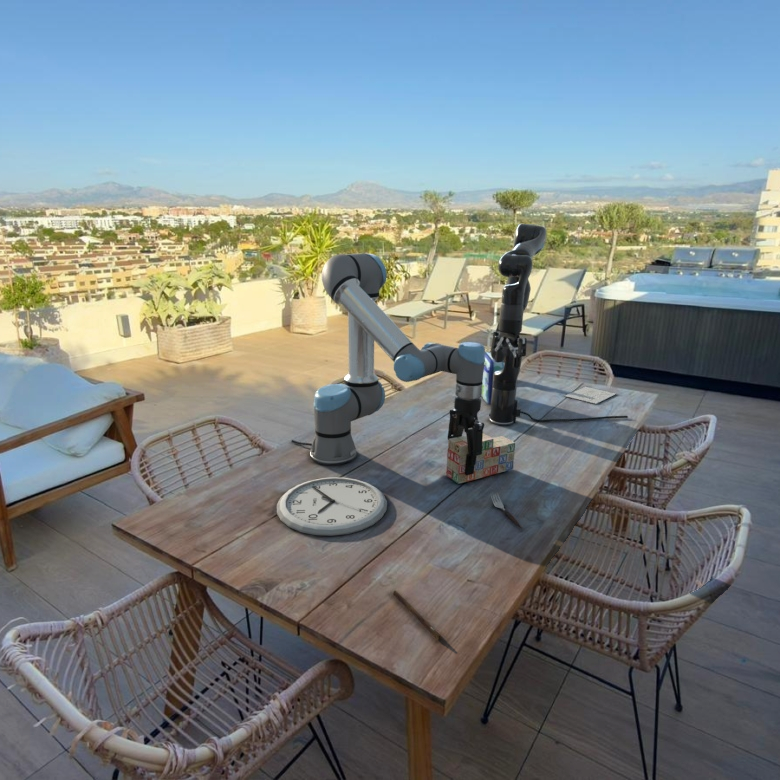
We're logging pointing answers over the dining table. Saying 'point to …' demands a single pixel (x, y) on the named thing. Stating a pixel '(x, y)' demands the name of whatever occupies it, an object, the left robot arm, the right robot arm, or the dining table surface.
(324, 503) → the wall clock
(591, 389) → the invitation card
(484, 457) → the stack of blocks
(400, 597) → the dark brown stick
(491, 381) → the lunch box
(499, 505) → the fork
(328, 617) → the dining table surface
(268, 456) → the dining table surface
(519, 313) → the right robot arm
